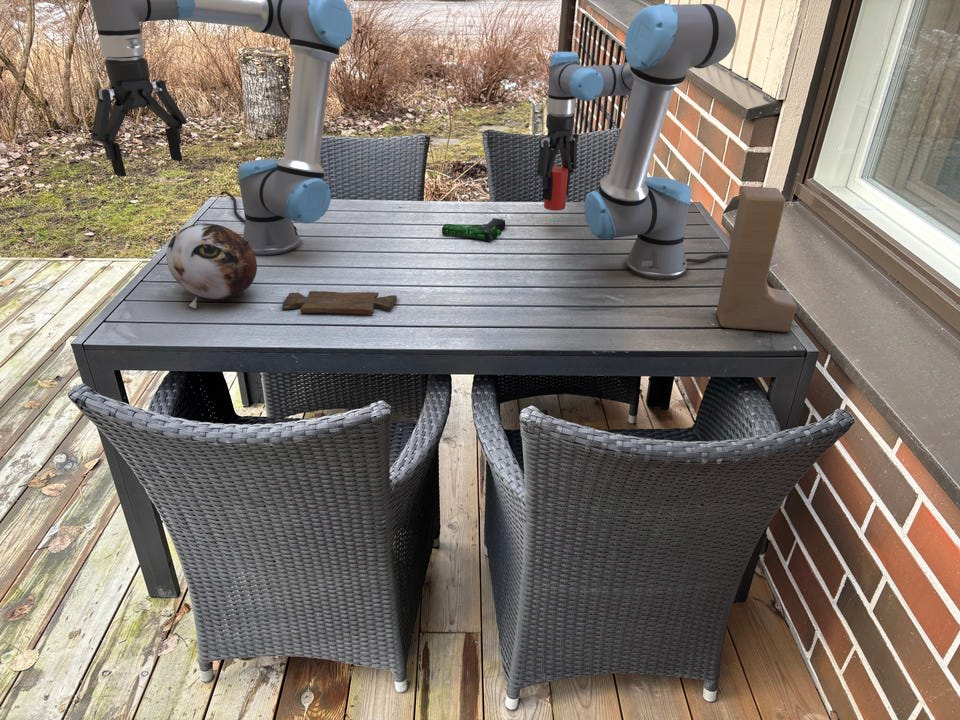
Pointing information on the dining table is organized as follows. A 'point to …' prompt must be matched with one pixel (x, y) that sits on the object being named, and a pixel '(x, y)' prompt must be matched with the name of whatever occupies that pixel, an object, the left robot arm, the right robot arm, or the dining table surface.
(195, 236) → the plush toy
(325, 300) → the dark wooden board
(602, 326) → the dining table surface
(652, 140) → the right robot arm
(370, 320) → the dining table surface
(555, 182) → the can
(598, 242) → the dining table surface
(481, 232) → the handgun
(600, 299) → the dining table surface
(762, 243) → the decorative block
